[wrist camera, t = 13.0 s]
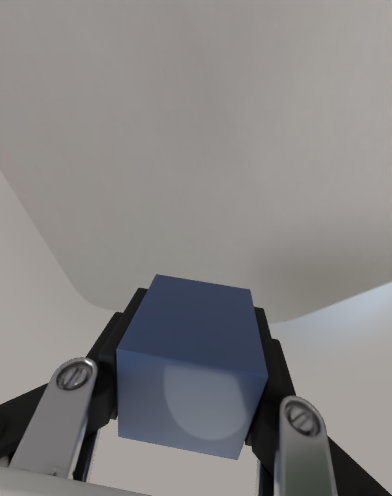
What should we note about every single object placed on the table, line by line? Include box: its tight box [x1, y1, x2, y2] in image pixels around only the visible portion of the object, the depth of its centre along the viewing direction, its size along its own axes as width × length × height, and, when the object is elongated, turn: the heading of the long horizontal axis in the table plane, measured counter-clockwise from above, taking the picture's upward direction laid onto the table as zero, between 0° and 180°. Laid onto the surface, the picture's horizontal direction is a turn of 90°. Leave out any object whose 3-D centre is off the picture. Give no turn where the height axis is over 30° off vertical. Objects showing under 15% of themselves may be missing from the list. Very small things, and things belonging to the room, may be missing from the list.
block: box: [117, 274, 268, 460], centre depth 9 cm, size 4×4×4 cm
